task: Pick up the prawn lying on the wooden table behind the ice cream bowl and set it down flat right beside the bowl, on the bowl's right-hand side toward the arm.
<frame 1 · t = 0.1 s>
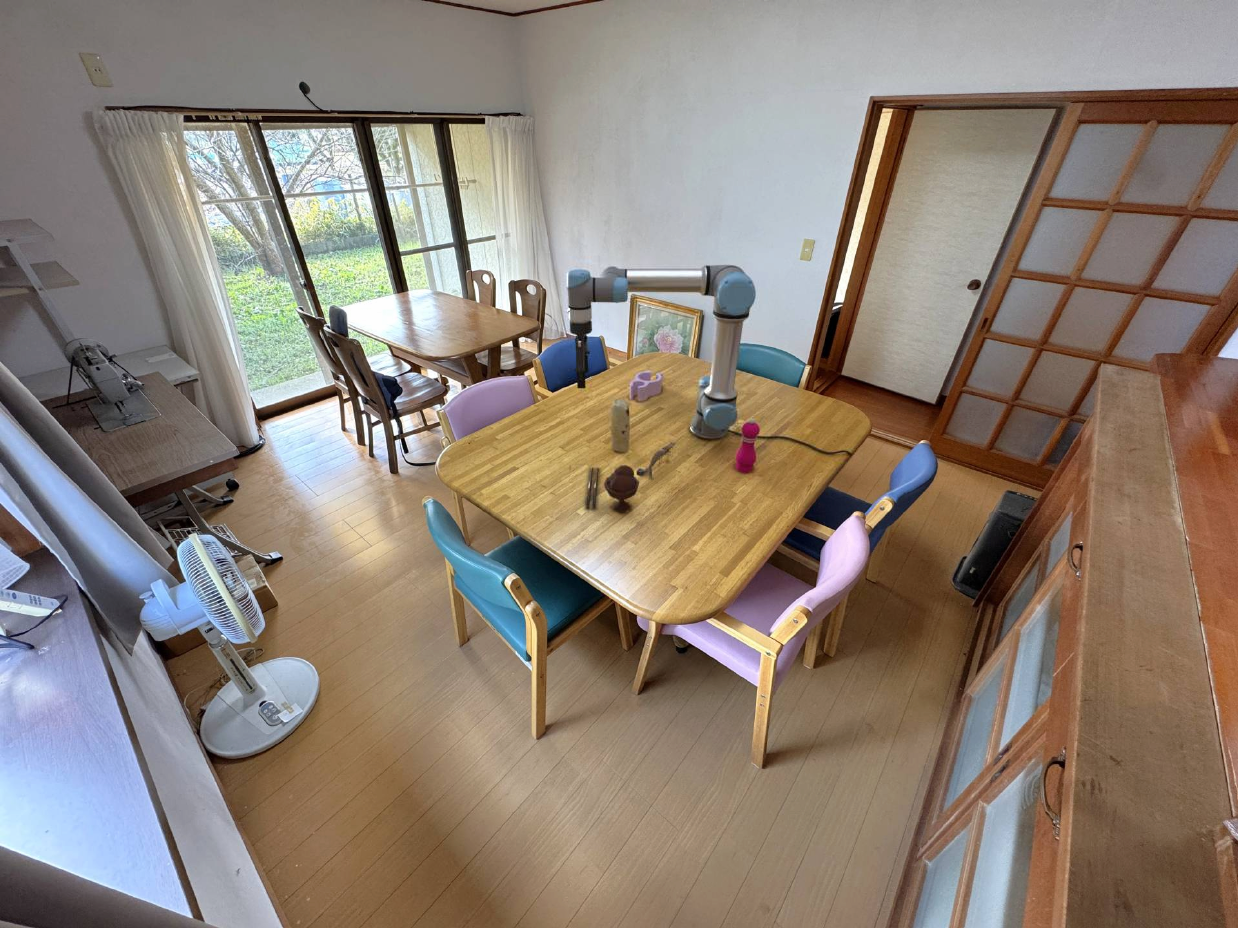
hand: (583, 380, 171), 28 cm above the table, tool pointing down, fingers open, 13 cm apart
ice cream bowl: (621, 507, 156), on the table
food model: (620, 448, 186), on the table
pepper mill: (743, 468, 174), on the table
chopsticks: (592, 488, 164), on the table
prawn: (658, 467, 175), on the table
clip: (645, 392, 227), on the table
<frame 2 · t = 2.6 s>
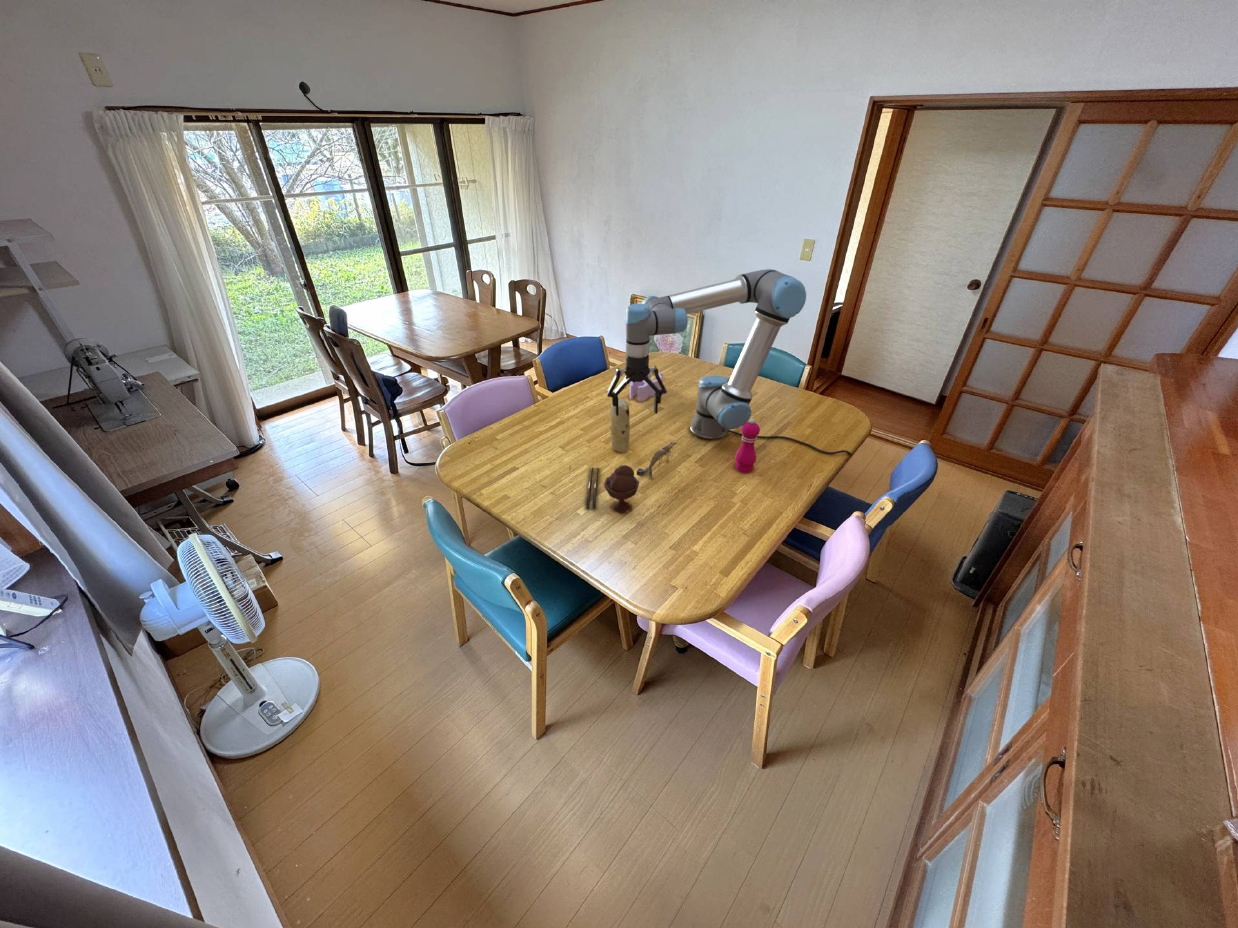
hand: (636, 412, 167), 20 cm above the table, tool pointing down, fingers open, 13 cm apart
nothing on the table moved.
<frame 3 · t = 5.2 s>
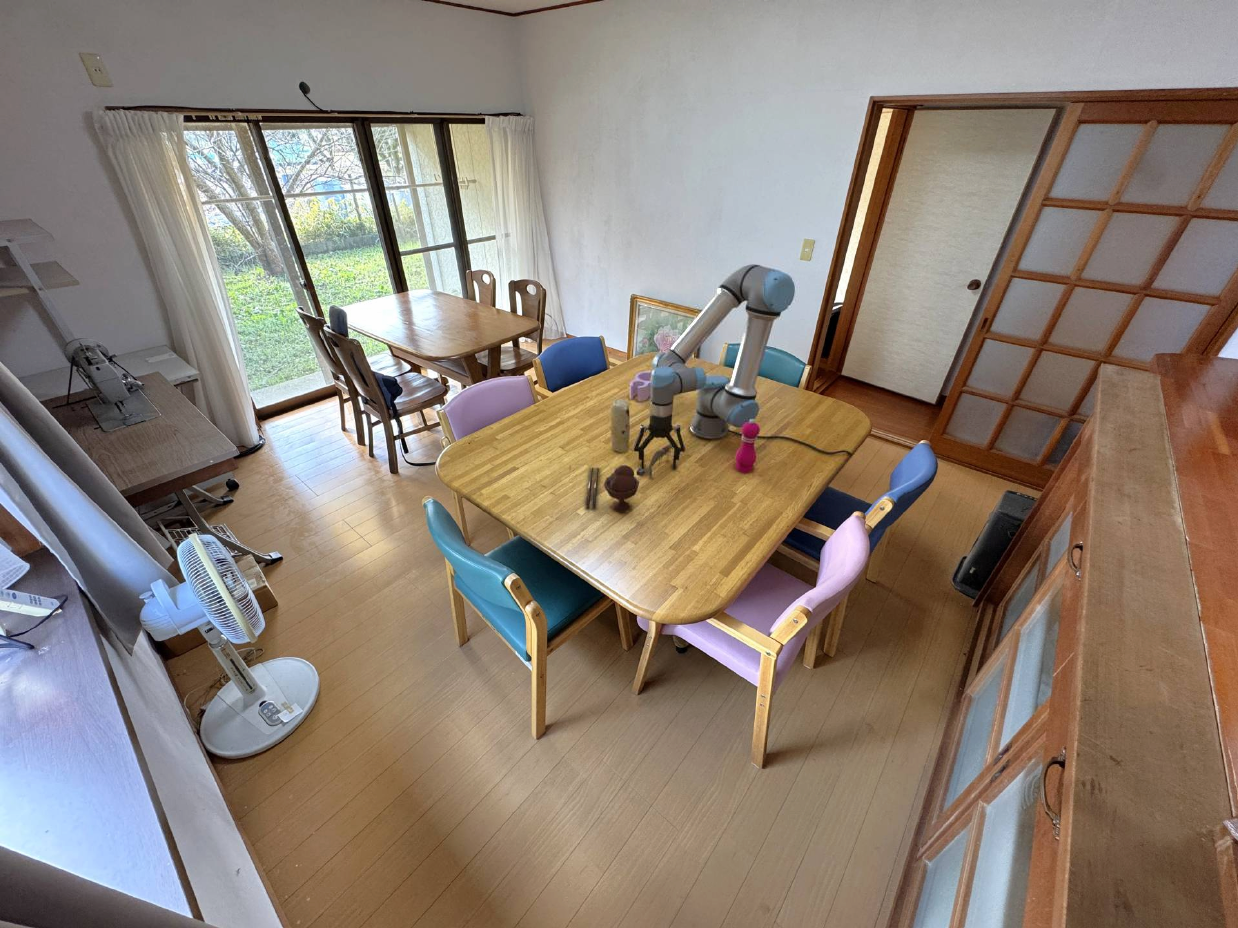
hand: (658, 466, 174), 0 cm above the table, tool pointing down, fingers open, 11 cm apart
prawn: (658, 467, 175), on the table, touching gripper
everything else where it was.
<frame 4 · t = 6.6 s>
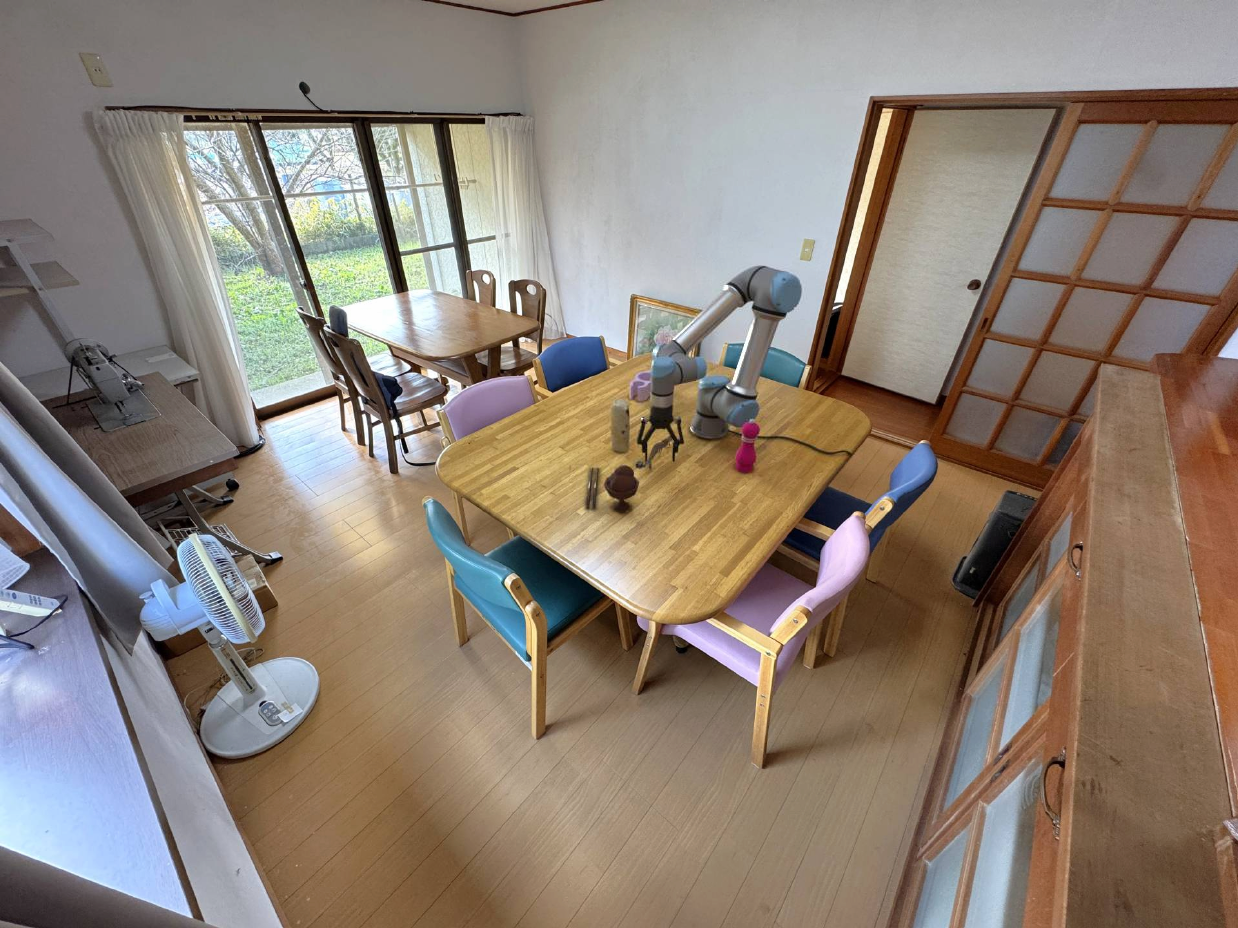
hand: (659, 459, 173), 3 cm above the table, tool pointing down, fingers closed on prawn, 9 cm apart
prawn: (658, 461, 173), point 3 cm above the table, touching gripper
everything else where it was.
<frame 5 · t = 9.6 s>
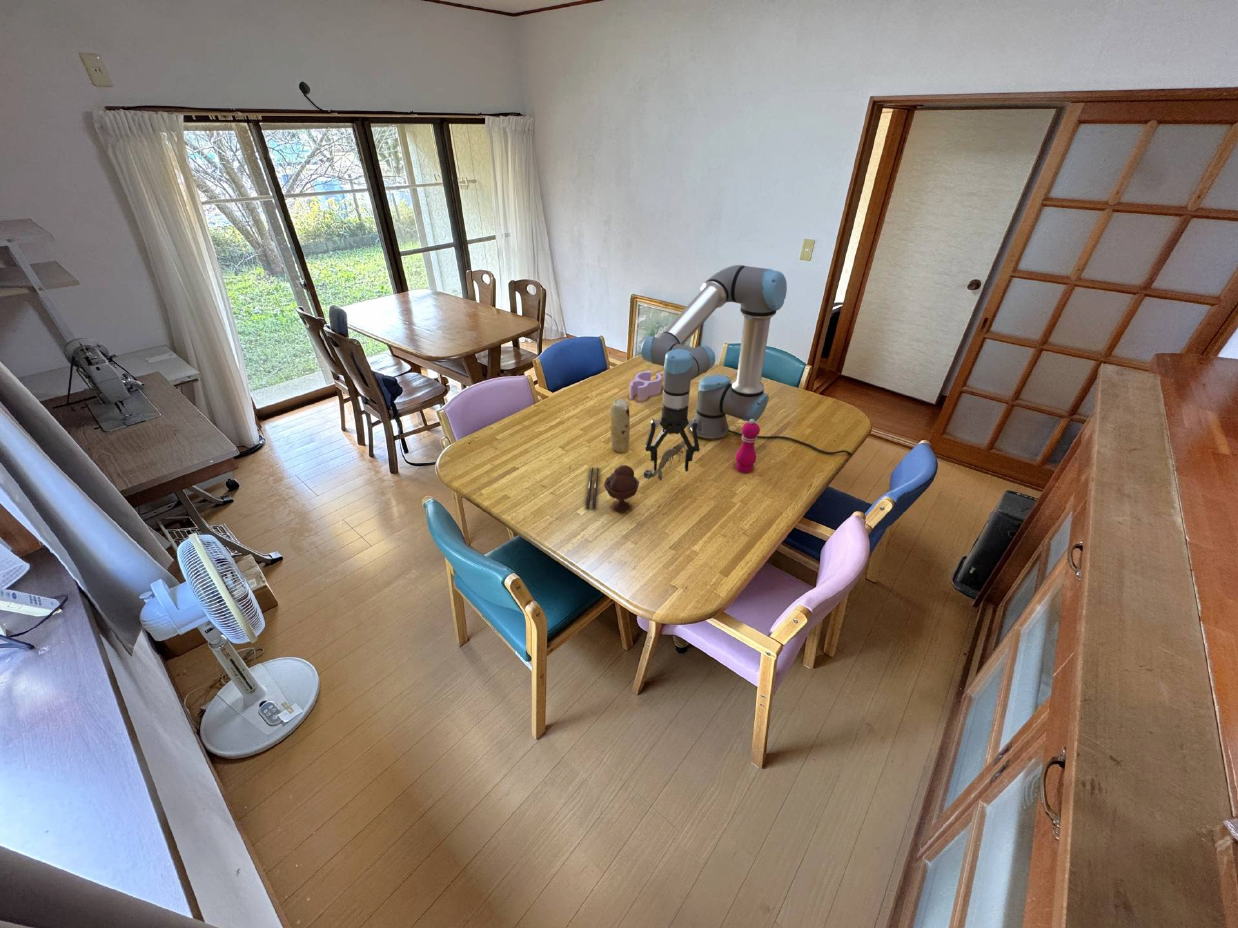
hand: (670, 468, 151), 13 cm above the table, tool pointing down, fingers closed on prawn, 9 cm apart
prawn: (668, 470, 151), point 12 cm above the table, touching gripper
everything else where it was.
when the fingers open (0 cm above the table, at t = 12.8 s): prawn stays where it is, on the table.
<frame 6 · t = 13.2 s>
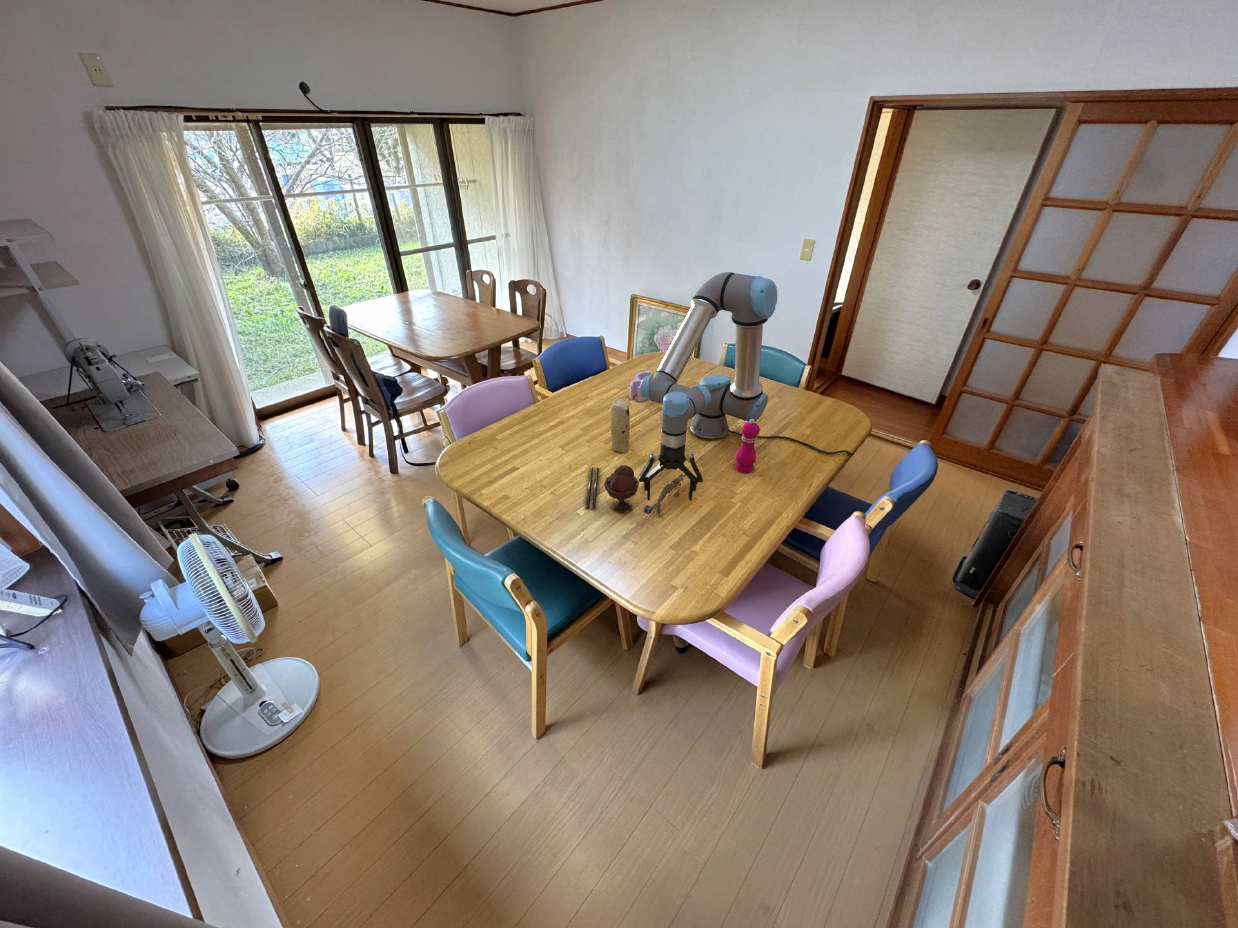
hand: (669, 498, 157), 1 cm above the table, tool pointing down, fingers open, 13 cm apart
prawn: (667, 502, 158), on the table
everything else where it was.
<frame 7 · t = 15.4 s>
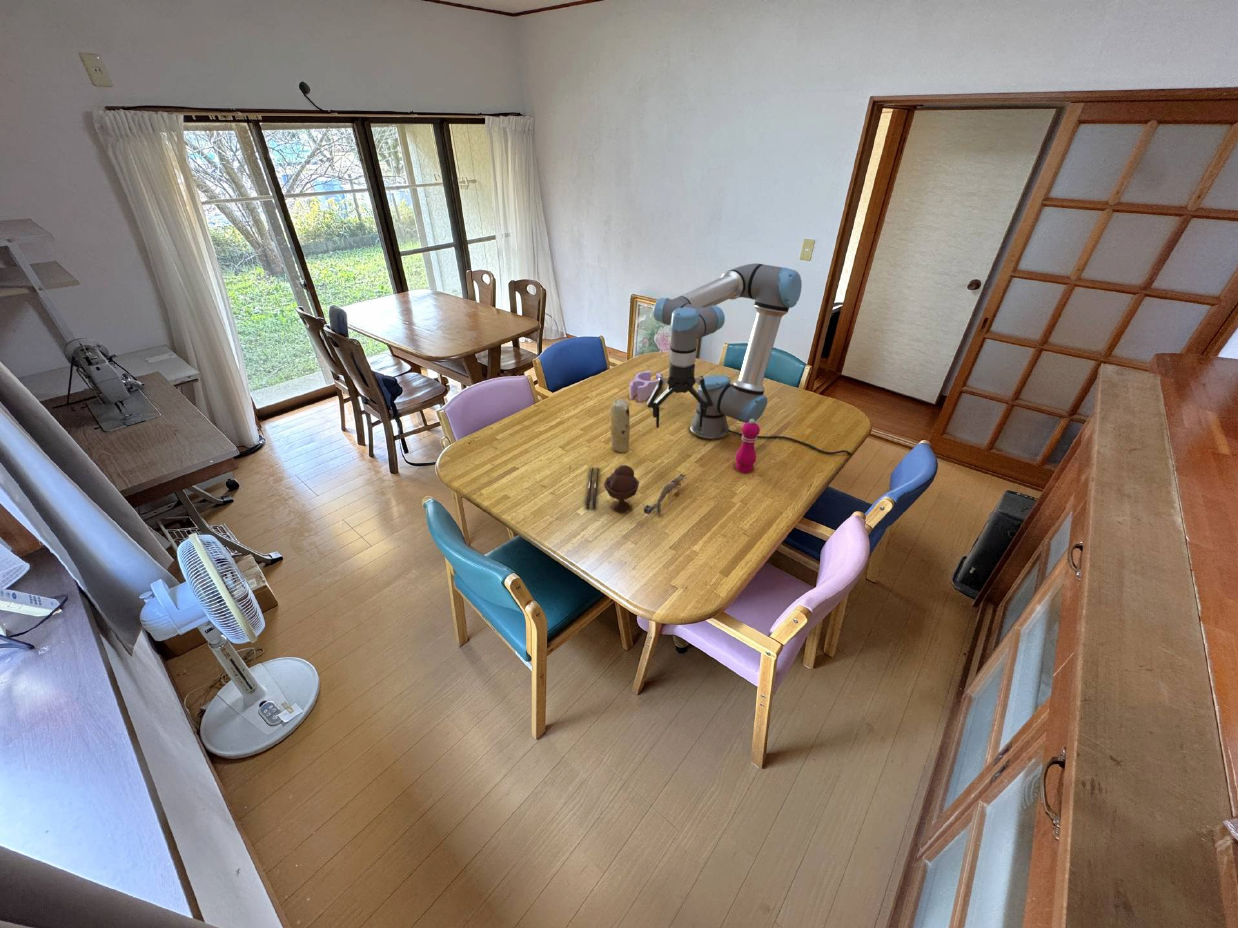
hand: (678, 425, 154), 23 cm above the table, tool pointing down, fingers open, 13 cm apart
nothing on the table moved.
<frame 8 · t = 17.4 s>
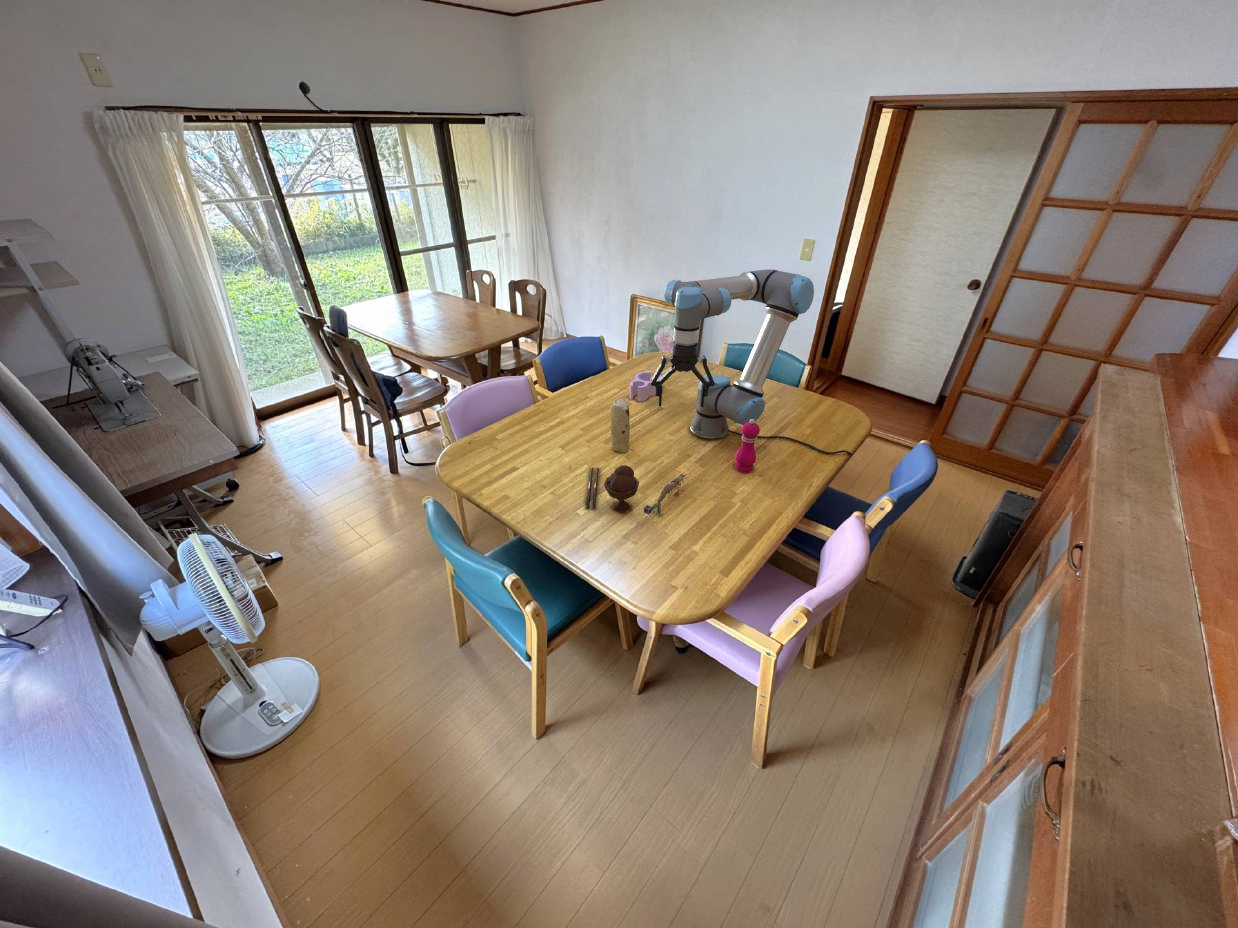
hand: (680, 405, 157), 27 cm above the table, tool pointing down, fingers open, 13 cm apart
nothing on the table moved.
at the end: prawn inside the target area on the table beside the ice cream bowl (1.1 cm from its centre), on the table; the gripper is holding nothing; ice cream bowl moved 0.2 cm from its start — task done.
